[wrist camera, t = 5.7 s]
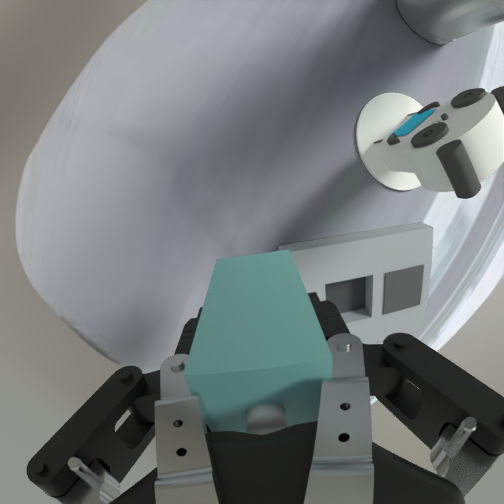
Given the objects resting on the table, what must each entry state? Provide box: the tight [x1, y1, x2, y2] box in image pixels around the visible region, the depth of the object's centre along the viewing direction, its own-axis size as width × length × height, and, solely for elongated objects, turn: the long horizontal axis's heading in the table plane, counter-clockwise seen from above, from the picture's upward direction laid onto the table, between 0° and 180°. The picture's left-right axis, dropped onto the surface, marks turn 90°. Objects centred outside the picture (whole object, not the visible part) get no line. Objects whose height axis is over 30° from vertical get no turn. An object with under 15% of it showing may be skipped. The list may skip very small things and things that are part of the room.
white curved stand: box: [356, 86, 504, 199], centre depth 19 cm, size 12×11×15 cm
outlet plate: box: [278, 222, 433, 344], centre depth 30 cm, size 14×18×3 cm
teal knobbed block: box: [184, 249, 333, 435], centre depth 11 cm, size 4×4×10 cm
